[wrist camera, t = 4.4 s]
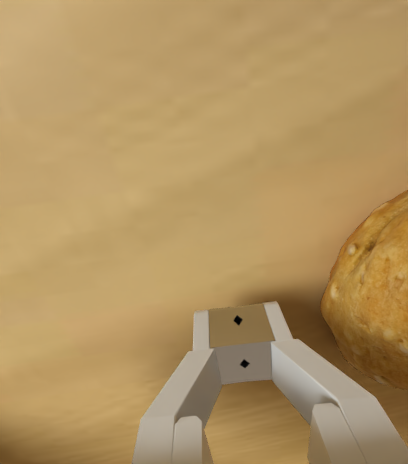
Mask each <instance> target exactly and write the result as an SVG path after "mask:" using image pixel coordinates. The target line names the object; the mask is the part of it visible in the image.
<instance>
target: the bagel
mask: <svg viewBox="0 0 408 464" xmlns="http://www.w3.org/2000/svg"><path fill="white" fill-rule="evenodd" d="M320 307H321V313H322V316H323V318H324V319H325V321H326V323H327V324H328V326H329V327H330V328H331V330H332V333H333V335H334V337H335V339H336V343H337V346H338V347H339V349H340V350H341V353H342V355H343V357H344V358H345V360H346V361H348V362H349V363H350V364H351V365H352V366H353V367H354V368H356V369H357V370H359V371H360V372H362V373H363V374H365V375H366V376H368V377H370V378H373V379H374V380H376V381H378V382H379V383H381V384H384V385H388V386H393V387H395V388H400V389H406V390H408V190H407V191H405V192H403V193H402V194H400V195H398V196H397V197H395V198H394V199H392V200H390V201H388V202H386V203H384V204H382V205H381V206H379V207H378V208H376V209H375V210H374V211H373V212H372V213H371V215H370V216H369V217H368V218H367V219H366V220H365V221H364V222H363V223H361V224H360V225H359V227H358V228H357V229H356V230H355V231H354V232H353V234H352V235H351V236H350V237H349V238H348V239H347V241H346V242H345V244H344V245H343V247H342V248H341V250H340V253H339V256H338V258H337V261H336V263H335V265H334V266H333V268H332V270H331V272H330V277H329V284H328V285H327V287H326V291H325V292H324V295H323V297H322V300H321V303H320Z"/></svg>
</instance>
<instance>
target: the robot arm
mask: <svg viewBox="0 0 408 464" xmlns="http://www.w3.org/2000/svg"><path fill="white" fill-rule="evenodd" d="M260 380H272V381H273V382H274V383H275V385H276V386H277V387H278V388H279V389H280V390H281V392H282V393H283V394H284V395H285V396H286V398H287V399H288V400H289V401H290V402H291V403H292V405H293V406H294V407H295V408H296V409H297V411H298V412H299V413H300V414H301V415H302V416H303V418H304V419H305V420H306V421H307V422H308V423H309V425H310V426H311V428H310V437H309V447H308V461H309V464H408V448H407V446H406V444H405V443H404V441H403V440H402V438H401V436H400V435H399V433H398V432H397V430H396V429H395V427H394V425H393V424H392V422H391V421H390V419H389V418H388V416H387V414H386V413H385V411H384V410H383V408H382V406H381V405H380V403H379V402H378V400H377V399H376V397H375V396H373V395H372V394H371V393H369V392H368V391H367V390H365V389H364V388H363V387H361V386H360V385H359V384H357V383H356V382H355V381H353V380H352V379H351V378H349V377H348V376H347V375H345V374H344V373H343V372H342V371H340V370H339V369H338V368H336V367H335V366H334V365H332V364H331V363H330V362H328V361H327V360H326V359H324V358H323V357H322V356H320V355H319V354H318V353H316V352H315V351H314V350H312V349H311V348H310V347H308V346H307V345H306V344H304V343H303V342H302V341H300V340H299V339H293V337H292V334H291V332H290V330H289V327H288V325H287V323H286V320H285V318H284V316H283V313H282V311H281V309H280V306H279V304H278V302H276V301H273V302H266V303H259V304H251V305H243V306H236V307H227V308H217V309H209V310H199V311H195V313H194V330H193V351H188V352H187V354H186V355H185V357H184V358H183V360H182V361H181V362H180V364H179V365H178V367H177V368H176V370H175V371H174V372H173V374H172V375H171V377H170V378H169V380H168V381H167V382H166V384H165V385H164V387H163V388H162V390H161V391H160V393H159V394H158V395H157V397H156V398H155V400H154V401H153V403H152V404H151V405H150V407H149V408H148V410H147V411H146V413H145V414H144V415H143V417H142V418H141V421H140V426H139V431H138V435H137V440H136V445H135V450H134V455H133V459H132V464H214V463H213V460H212V456H211V452H210V449H209V445H208V442H207V438H206V435H205V431H204V428H205V426H206V423H207V421H208V419H209V416H210V414H211V411H212V409H213V407H214V404H215V402H216V400H217V397H218V395H219V392H220V390H221V388H222V385H224V384H231V383H239V382H246V381H260Z"/></svg>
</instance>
